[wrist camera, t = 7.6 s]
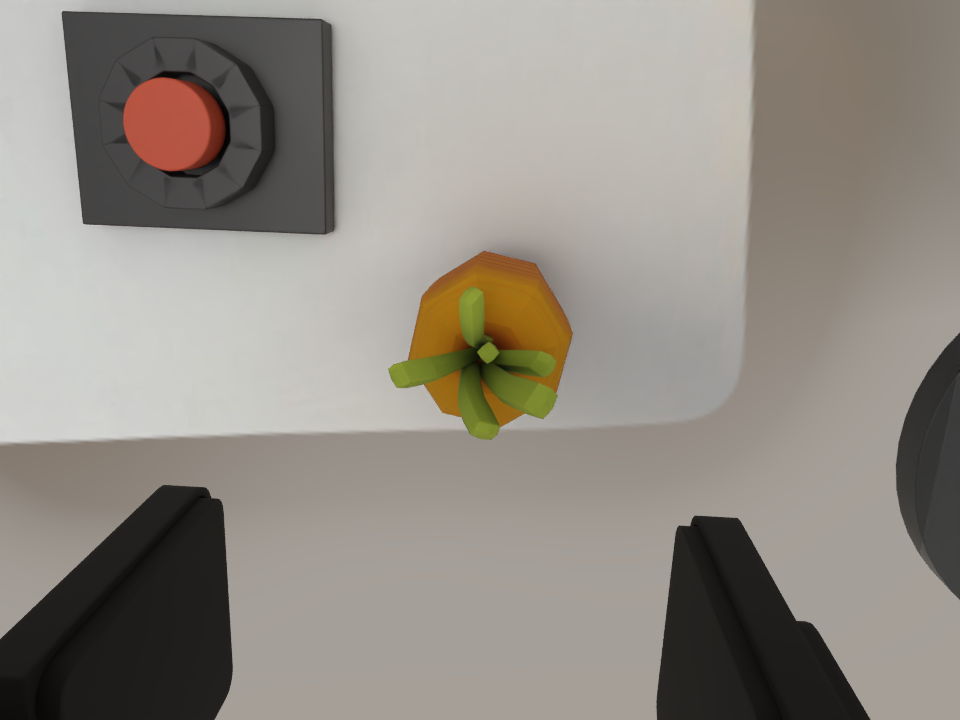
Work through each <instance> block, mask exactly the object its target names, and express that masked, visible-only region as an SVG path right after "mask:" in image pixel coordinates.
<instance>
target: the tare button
mask: <svg viewBox="0 0 960 720" xmlns="http://www.w3.org/2000/svg"><path fill="white" fill-rule="evenodd" d="M123 125H124V131H125V134H126V137H127V140H128V142H129V144H130V146H131V147H132V149H133V150H134V151H135V153H136V154H137V155H138V156H139V157H140V158H141V159H142V160H143V161H145V162H146V163H148V164H149V165H151V166H153V167H155V168H158V169H161V170H165V171H181V170H191V169H197V168H200V167H203V166H205V165H207V164H208V163H210V162H211V161H212V160H213V159H214V158H215V157H216V156H217V155H218V154H219V152H220V150H221V148H222V146H223V143H224V140H225V134H226V126H225V119H224V115H223V112H222V110H221V108H220V106H219V104H218V102H217V101H216V99H215V98H214V97H213V96H212V95H211V94H210V93H209V92H208V91H207V90H206V89H204V88H203V87H201V86H199V85H198V84H195V83H193V82H189V81H185V80H179V79H173V78H165V77H162V78H153V79H150V80H147V81H145V82H143V83H142V84H140V85H139V86H138V87H137V88H136V89H135V90H134V91H133V92H132V93H131V94H130V96H129V98H128V100H127V102H126V105H125V108H124V114H123Z"/></svg>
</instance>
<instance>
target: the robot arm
mask: <svg viewBox="0 0 960 720" xmlns="http://www.w3.org/2000/svg"><path fill="white" fill-rule="evenodd" d="M671 570H672V571H671V578H670V587H669V596H668V605H667V613H666V622H665V630H664V639H663V648H662V658H661V666H660V674H659V683H658V691H657V720H870V718H869V717H868V715H867V713H866V711H865V710H864V708H863V706H862V705H861V703H860V701H859V700H858V698H857V696H856V695H855V693H854V691H853V689H852V688H851V686H850V684H849V683H848V681H847V679H846V678H845V676H844V674H843V673H842V671H841V669H840V668H839V666H838V664H837V662H836V661H835V659H834V657H833V656H832V654H831V652H830V651H829V649H828V647H827V646H826V644H825V642H824V641H823V639H822V637H821V635H820V634H819V632H818V631H817V629H816V628H815V627H814V626H813V624H811V623H808V622H805V621H796V620H795V618H794V616H793V615H792V613H791V611H790V609H789V607H788V605H787V604H786V602H785V600H784V598H783V597H782V595H781V593H780V591H779V589H778V587H777V586H776V584H775V582H774V580H773V578H772V577H771V575H770V573H769V571H768V570H767V568H766V566H765V564H764V562H763V561H762V559H761V557H760V555H759V553H758V552H757V550H756V548H755V547H754V545H753V543H752V541H751V539H750V537H749V536H748V534H747V532H746V531H745V528H744V527H743V525H742V523H741V521H740V520H739V519H738V518H725V517H709V516H694V517H693V519H692V522H691V526H678V528H677V531H676V536H675V543H674V553H673V561H672V569H671ZM232 665H233V664H232V648H231V631H230V613H229V597H228V579H227V562H226V546H225V528H224V512H223V505H222V502H221V501H220V500H219V499H213V498H211V496H210V493H209V491H208V490H207V488H204V487H188V486H172V485H163V486H161V487H160V488H158V489H157V490H156V491H155V492H154V493H153V494H152V495H151V496H150V497H149V498H148V499H147V500H146V501H145V502H144V503H143V504H142V505H141V506H139V508H137V509H136V510H135V511H134V512H133V513H132V514H131V515H130V516H129V517H128V518H127V519H126V520H125V521H124V522H123V523H122V524H121V525H120V526H119V527H117V528H116V529H115V531H113V532H112V533H111V534H110V535H109V536H108V537H107V538H106V539H105V540H104V541H103V542H102V543H101V544H100V545H99V546H98V547H97V548H95V549H94V551H92V552H91V553H90V554H89V555H88V556H87V557H86V558H85V559H84V560H83V561H82V562H81V563H80V564H79V565H78V566H77V567H76V568H74V569H73V570H72V571H71V572H70V573H69V574H68V575H67V576H66V577H65V578H64V579H63V580H62V581H61V582H60V583H59V584H58V585H57V586H56V587H55V588H53V589H52V590H51V591H50V592H49V593H48V594H47V595H46V596H45V597H44V598H43V599H42V600H41V601H40V602H39V603H38V604H37V605H36V606H35V607H34V608H32V609H31V610H30V611H29V612H28V613H27V614H26V615H25V616H24V617H23V618H22V619H21V620H20V621H19V622H18V623H17V624H16V625H15V626H14V627H13V628H12V629H10V630H9V631H8V632H7V633H6V634H5V635H4V636H3V637H2V638H1V639H0V720H214V719H215V718H216V716H217V714H218V712H219V710H220V708H221V706H222V705H223V703H224V701H225V699H226V697H227V695H228V692H229V689H230V685H231V680H232V672H233V666H232Z"/></svg>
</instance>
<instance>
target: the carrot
mask: <svg viewBox="0 0 960 720" xmlns="http://www.w3.org/2000/svg"><path fill="white" fill-rule="evenodd" d="M572 334H573V333H572V330H571V327H570V325H569V322H568V319H567V317H566V315H565V313H564V311H563V309H562V307H561V306H560V304H559V302H558V301H557V299H556V297H555V296H554V294H553V292H552V291H551V289H550V287H549V286H548V284H547V282H546V281H545V279H544V277H543V276H542V274H541V272H540V271H539V269H538V267H537V266H536V264H535V263H531V262H527V261H523V260H519V259H515V258H510V257H506V256H502V255H498V254H494V253H490V252H486V251H483V252H481V253H480V254H478V255H477V256H475V257H473V258H472V259H470V260H468V261H467V262H465V263H463V264H462V265H460V266H459V267H457V268H455V269H454V270H452V271H450V272H449V273H447V274H445V275H444V276H442V277H440V278H439V279H438V280H437V281H436V282H435V283H434V284H432V285H431V286H430V287H429V289H428V290H427V291H426V292H425V293H424V295H423V296H422V298H421V303H420V307H419V312H418V316H417V321H416V326H415V330H414V335H413V339H412V344H411V348H410V353H409V358H408V361H404V362H401V363H397V364H394V365H392V366H391V367H390V368H389V369H388V370H389V373H390V376H391V379H392V381H393V382H394V384H395V385H396V387H397V388H408V387H413V386H418V385H422V384H424V385H425V387H426V388H427V390H428V391H429V393H430V394H431V396H432V397H433V399H434V400H435V402H436V403H437V405H438V406H439V408H440V410H441V411H442V413H446V414H450V415H454V416H458V417H462V419H463V422H464V424H465V425H466V427H467V429H468V431H469V433H470V435H472V436H475V437H478V438H480V439H490V440H491V439H492V438H493V437H495V436H496V435H497V434H498V431H499V428H500V427H501V426H503V425H505V424H507V423H509V422H510V421H512V420H514V419H516V418H518V417H519V416H521V415H523V414H525V413H526V414H528V415H531V416H535V417H538V418H541V419H544V417H545V416H546V415H547V414H548V413H549V412H550V411H551V410H552V408H553V406H554V404H555V401H556V398H557V396H558V395H557V394H556V393H557V389H558V385H559V382H560V378H561V375H562V371H563V367H564V364H565V360H566V357H567V353H568V349H569V346H570V342H571V339H572Z"/></svg>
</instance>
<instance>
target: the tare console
mask: <svg viewBox="0 0 960 720" xmlns="http://www.w3.org/2000/svg"><path fill="white" fill-rule="evenodd" d="M62 21H63V30H64V40H65V50H66V60H67V70H68V80H69V90H70V99H71V109H72V119H73V129H74V139H75V149H76V158H77V168H78V178H79V188H80V198H81V208H82V218H83V224H90V225H113V226H136V227H160V228H183V229H207V230H230V231H253V232H277V233H300V234H323V235H325V234H327V233H329V232H331V231H334V196H333V130H332V64H331V25H330V24H329V23H327V22H325V21H324V20H322V19H302V18H269V17H236V16H203V15H171V14H138V13H105V12H72V11H63V12H62ZM162 77H165V78H173V79H179V80H185V81H189V82H193V83H195V84H198V85H199V86H201V87H203V88H204V89H206V90H207V91H208V92H209V93H210V94H211V95H212V96H213V97H214V98H215V99H216V101H217V102H218V104H219V106H220V108H221V110H222V112H223V115H224V119H225V126H226V134H225V140H224V143H223V146H222V148H221V150H220V152H219V154H218V155H217V156H216V157H215V158H214V159H213V160H212V161H211V162H210V163H208V164H207V165H205V166H203V167H200V168H197V169H191V170H181V171H165V170H161V169H158V168H155V167H153V166H151V165H149V164H148V163H146V162H145V161H143V160H142V159H141V158H140V157H139V156H138V155H137V154H136V153H135V151H134V150H133V149H132V147H131V146H130V144H129V142H128V140H127V137H126V134H125V131H124V125H123V114H124V108H125V105H126V102H127V100H128V98H129V96H130V94H131V93H132V92H133V91H134V90H135V89H136V88H137V87H138V86H139V85H140V84H142V83H143V82H145V81H147V80H150V79H153V78H162Z"/></svg>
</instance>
